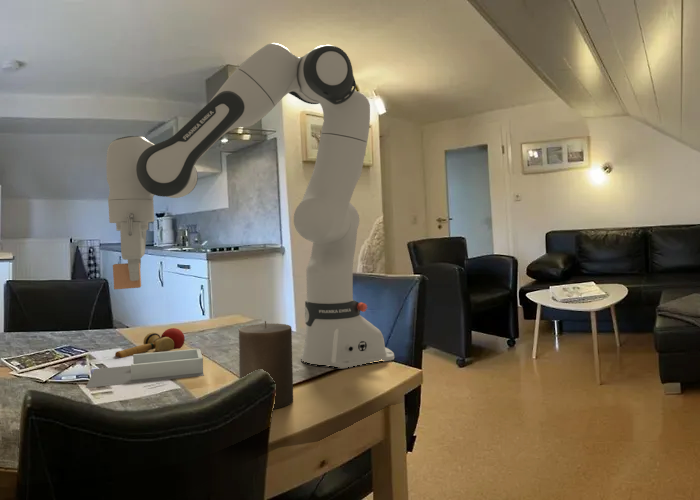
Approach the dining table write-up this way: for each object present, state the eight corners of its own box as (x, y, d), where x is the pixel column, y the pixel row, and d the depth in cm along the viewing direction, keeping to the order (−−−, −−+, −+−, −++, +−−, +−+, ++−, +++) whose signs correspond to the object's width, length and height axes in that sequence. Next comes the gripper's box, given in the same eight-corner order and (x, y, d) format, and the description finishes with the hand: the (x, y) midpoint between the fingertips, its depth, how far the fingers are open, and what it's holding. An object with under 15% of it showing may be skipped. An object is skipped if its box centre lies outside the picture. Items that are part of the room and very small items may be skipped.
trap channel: (199, 365, 120) (199, 346, 120) (204, 382, 107) (203, 361, 107) (94, 375, 113) (94, 355, 112) (85, 395, 99) (84, 372, 99)
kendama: (131, 371, 121) (194, 346, 135) (124, 345, 120) (187, 322, 135) (114, 372, 125) (176, 347, 140) (107, 347, 125) (170, 325, 139)
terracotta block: (141, 285, 113) (139, 262, 113) (140, 287, 108) (138, 263, 108) (116, 287, 111) (114, 264, 111) (114, 289, 106) (112, 265, 106)
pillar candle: (296, 407, 92) (295, 323, 91) (240, 412, 89) (239, 326, 89) (289, 391, 101) (288, 315, 100) (238, 395, 99) (237, 317, 98)
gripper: (146, 211, 101) (150, 282, 101) (148, 215, 120) (152, 274, 121) (110, 212, 99) (115, 284, 99) (119, 216, 118) (122, 276, 119)
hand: (135, 279), depth 110 cm, fingers closed on terracotta block, 5 cm apart
